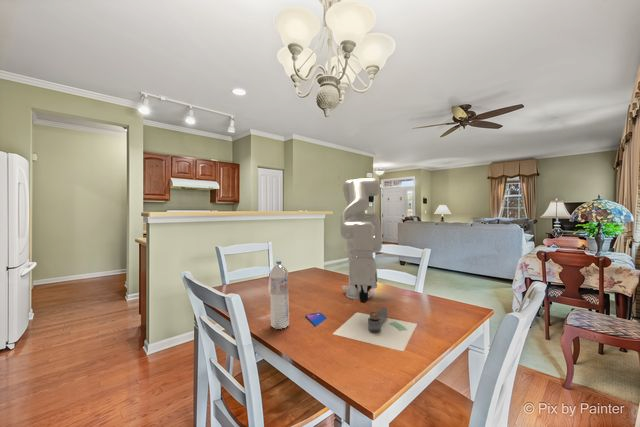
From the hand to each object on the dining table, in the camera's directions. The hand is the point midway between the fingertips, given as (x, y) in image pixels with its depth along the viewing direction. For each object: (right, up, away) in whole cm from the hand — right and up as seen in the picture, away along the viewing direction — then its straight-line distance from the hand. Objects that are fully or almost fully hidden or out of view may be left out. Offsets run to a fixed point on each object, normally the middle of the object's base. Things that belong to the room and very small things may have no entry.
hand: (363, 301), depth 104 cm
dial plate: (+3, -9, -8) cm, 12 cm away
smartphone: (-17, -9, +3) cm, 20 cm away
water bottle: (-32, -9, -1) cm, 34 cm away
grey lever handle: (+5, -6, -5) cm, 10 cm away
